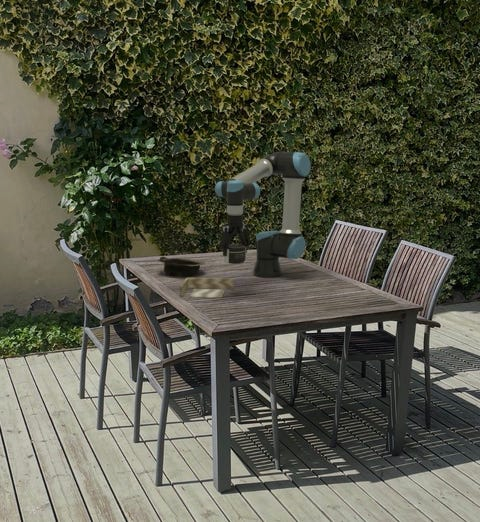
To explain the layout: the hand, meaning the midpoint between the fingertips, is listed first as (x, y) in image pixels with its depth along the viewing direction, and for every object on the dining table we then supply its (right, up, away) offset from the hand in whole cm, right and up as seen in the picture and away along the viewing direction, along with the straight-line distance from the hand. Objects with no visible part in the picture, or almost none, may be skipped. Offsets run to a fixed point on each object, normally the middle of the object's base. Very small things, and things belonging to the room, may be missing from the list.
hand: (235, 261), depth 348 cm
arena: (-13, -15, +5) cm, 21 cm away
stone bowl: (-28, -7, +47) cm, 55 cm away
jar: (0, 0, 0) cm, 0 cm away
